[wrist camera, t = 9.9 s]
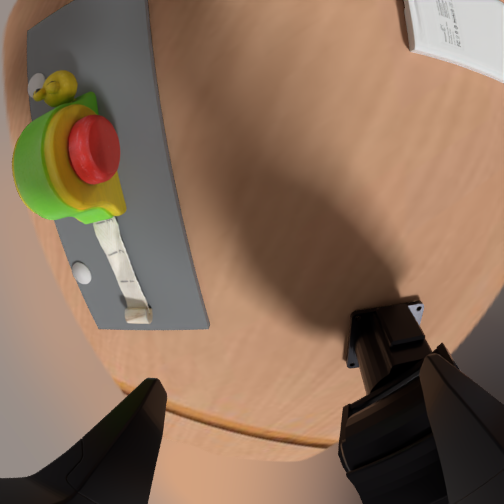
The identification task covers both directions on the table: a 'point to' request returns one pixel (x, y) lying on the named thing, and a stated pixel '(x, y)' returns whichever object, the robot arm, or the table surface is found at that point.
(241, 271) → the table surface
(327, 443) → the table surface
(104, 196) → the toy measuring tape
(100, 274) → the marked mat
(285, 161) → the table surface
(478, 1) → the external hard drive
